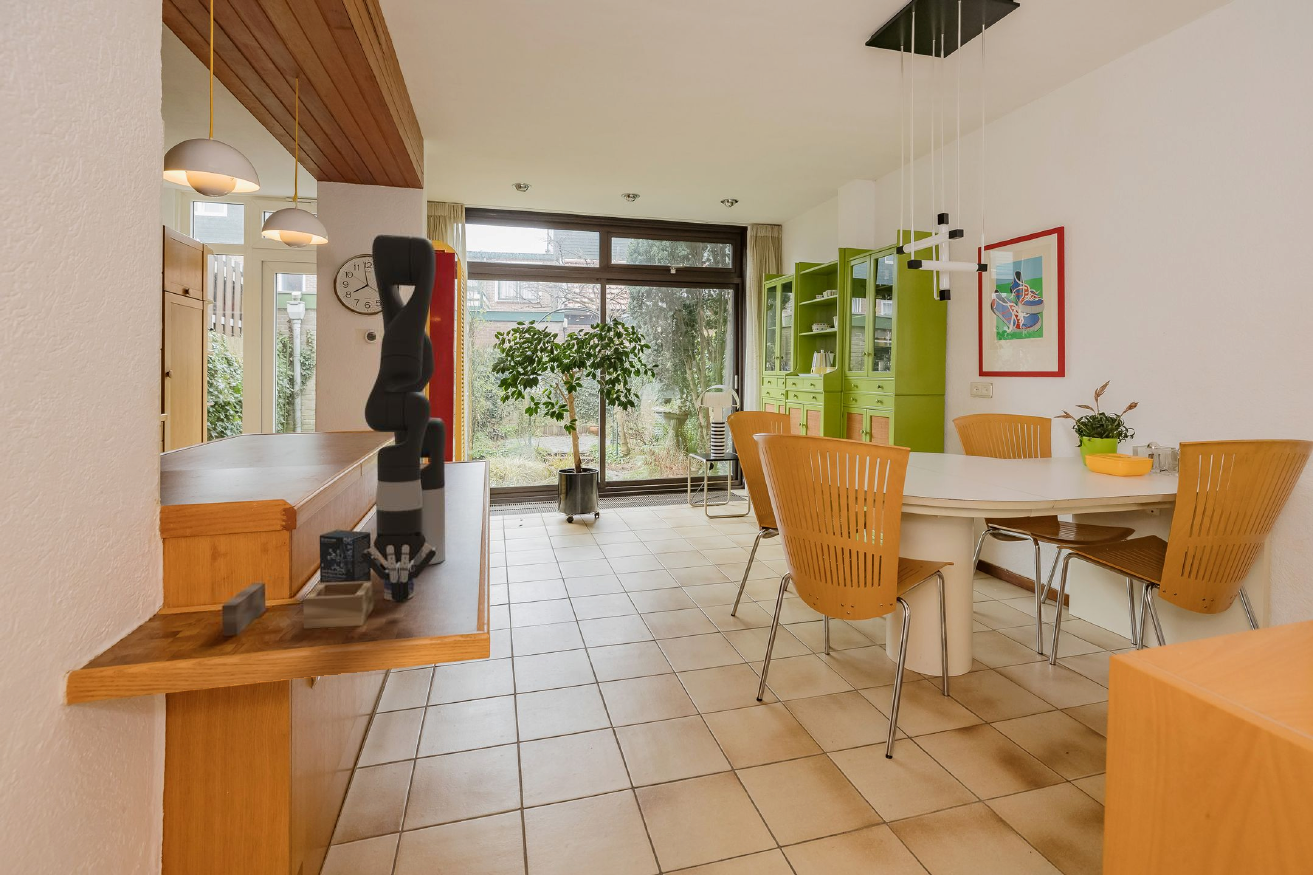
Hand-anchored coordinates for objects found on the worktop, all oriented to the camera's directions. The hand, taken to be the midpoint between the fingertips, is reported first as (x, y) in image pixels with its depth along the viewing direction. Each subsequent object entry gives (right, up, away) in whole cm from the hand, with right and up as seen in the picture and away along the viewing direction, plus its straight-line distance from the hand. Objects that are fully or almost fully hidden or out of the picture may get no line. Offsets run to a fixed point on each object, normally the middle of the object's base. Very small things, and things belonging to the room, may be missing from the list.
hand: (400, 601), depth 115 cm
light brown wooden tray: (-10, -2, -2) cm, 10 cm away
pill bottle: (-4, -2, +10) cm, 11 cm away
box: (-18, -1, +17) cm, 25 cm away
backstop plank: (-25, -2, -5) cm, 25 cm away
